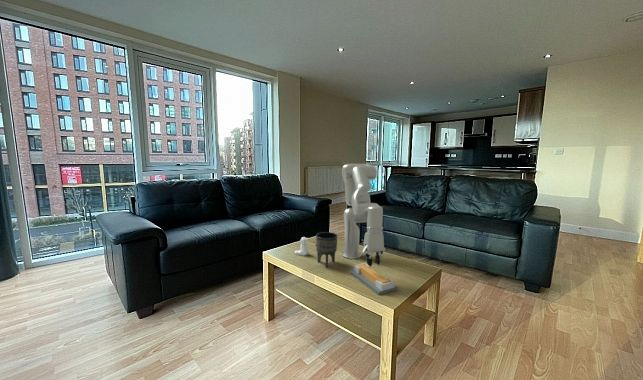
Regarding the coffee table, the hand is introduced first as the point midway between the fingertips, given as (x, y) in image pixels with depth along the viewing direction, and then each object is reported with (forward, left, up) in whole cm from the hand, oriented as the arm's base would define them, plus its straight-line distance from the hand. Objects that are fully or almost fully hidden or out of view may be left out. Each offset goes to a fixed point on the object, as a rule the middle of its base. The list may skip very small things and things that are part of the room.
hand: (373, 264), depth 133 cm
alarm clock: (-60, +1, -10) cm, 61 cm away
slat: (0, -1, -8) cm, 8 cm away
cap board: (0, 0, -9) cm, 9 cm away
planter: (-30, -12, -10) cm, 34 cm away
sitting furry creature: (-50, -19, -10) cm, 55 cm away
